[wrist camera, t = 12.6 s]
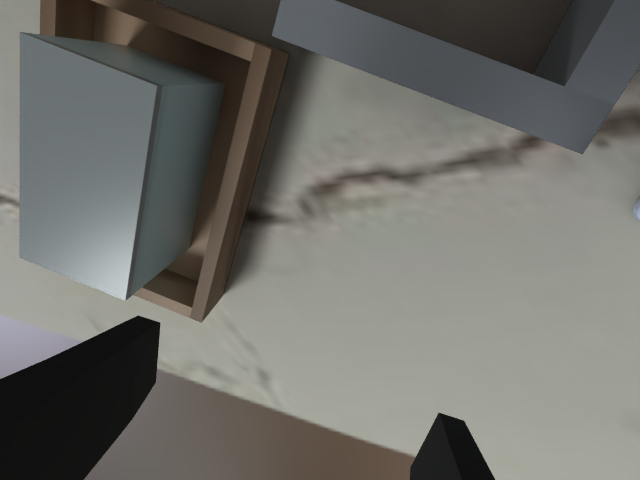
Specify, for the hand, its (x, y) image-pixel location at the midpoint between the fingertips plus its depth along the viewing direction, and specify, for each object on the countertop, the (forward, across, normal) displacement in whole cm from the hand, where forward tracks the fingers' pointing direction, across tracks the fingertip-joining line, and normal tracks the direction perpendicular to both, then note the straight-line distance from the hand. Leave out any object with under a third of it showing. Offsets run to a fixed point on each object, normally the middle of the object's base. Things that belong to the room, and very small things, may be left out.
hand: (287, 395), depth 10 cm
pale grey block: (+9, +9, -2) cm, 13 cm away
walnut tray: (+9, +9, -2) cm, 13 cm away
